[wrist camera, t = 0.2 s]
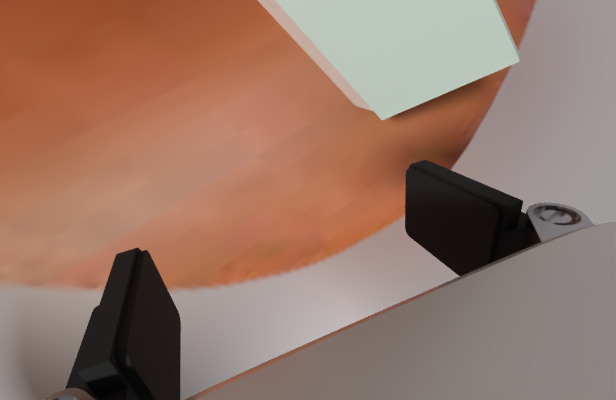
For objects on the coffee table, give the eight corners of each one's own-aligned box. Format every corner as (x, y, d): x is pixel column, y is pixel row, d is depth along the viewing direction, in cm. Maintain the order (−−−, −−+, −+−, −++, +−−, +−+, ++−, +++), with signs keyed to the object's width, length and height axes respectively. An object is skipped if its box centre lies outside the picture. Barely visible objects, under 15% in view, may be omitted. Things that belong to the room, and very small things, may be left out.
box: (337, -117, 31) (372, -155, 26) (422, 22, 41) (461, 17, 35) (254, -3, 33) (270, -15, 27) (355, 105, 42) (382, 114, 37)
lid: (416, -185, 17) (415, -180, 17) (519, 53, 27) (519, 61, 26) (270, -15, 27) (267, -9, 27) (383, 114, 37) (382, 120, 36)
